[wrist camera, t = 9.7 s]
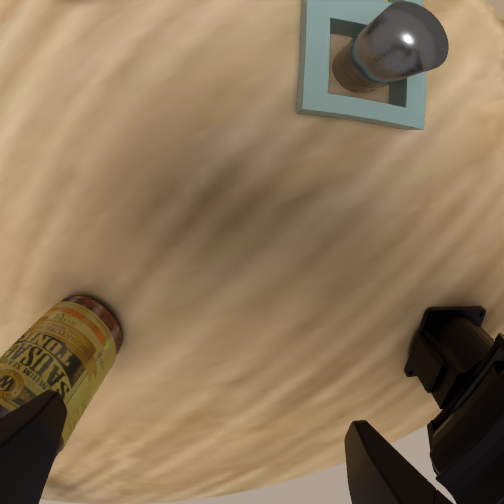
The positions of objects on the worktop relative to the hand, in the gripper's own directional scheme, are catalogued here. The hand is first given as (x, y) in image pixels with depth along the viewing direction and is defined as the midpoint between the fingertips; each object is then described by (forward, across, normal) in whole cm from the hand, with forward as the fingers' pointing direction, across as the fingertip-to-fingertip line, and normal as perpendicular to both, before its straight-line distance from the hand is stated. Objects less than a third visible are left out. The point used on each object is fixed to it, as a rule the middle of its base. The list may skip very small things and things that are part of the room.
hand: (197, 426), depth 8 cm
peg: (+13, -7, -13) cm, 19 cm away
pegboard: (+13, -7, -16) cm, 22 cm away
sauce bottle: (+13, +11, +6) cm, 18 cm away
